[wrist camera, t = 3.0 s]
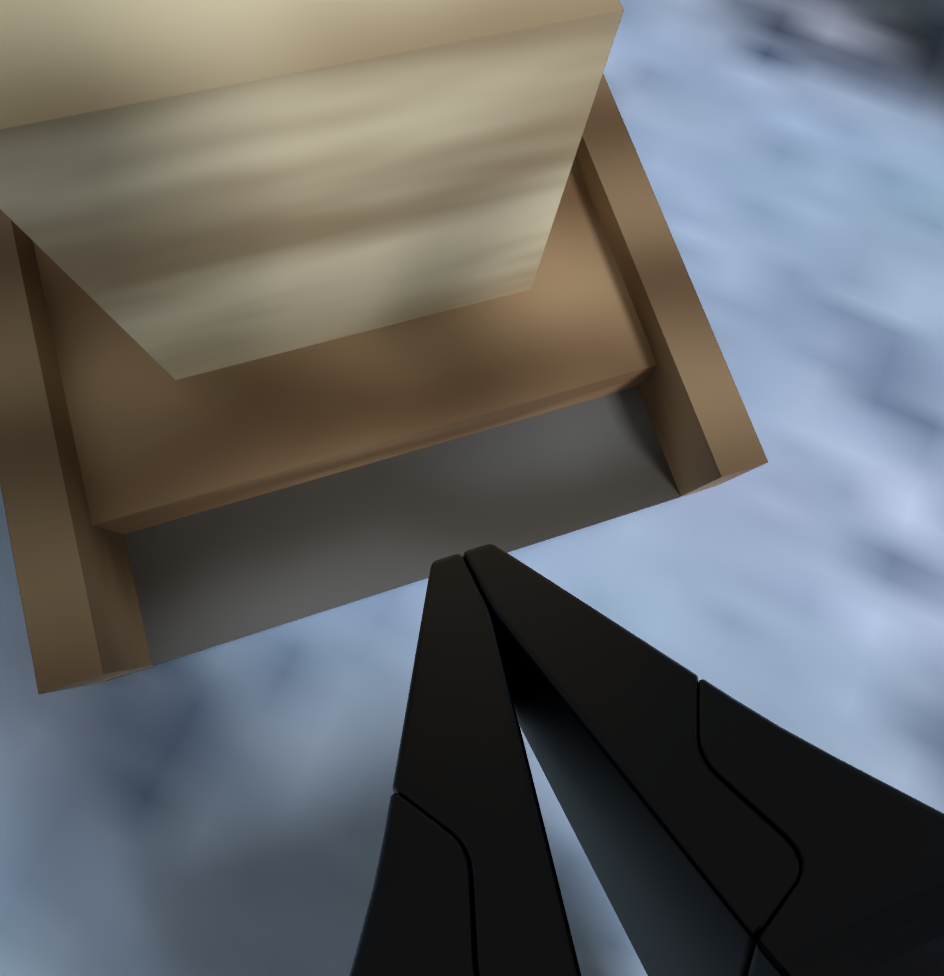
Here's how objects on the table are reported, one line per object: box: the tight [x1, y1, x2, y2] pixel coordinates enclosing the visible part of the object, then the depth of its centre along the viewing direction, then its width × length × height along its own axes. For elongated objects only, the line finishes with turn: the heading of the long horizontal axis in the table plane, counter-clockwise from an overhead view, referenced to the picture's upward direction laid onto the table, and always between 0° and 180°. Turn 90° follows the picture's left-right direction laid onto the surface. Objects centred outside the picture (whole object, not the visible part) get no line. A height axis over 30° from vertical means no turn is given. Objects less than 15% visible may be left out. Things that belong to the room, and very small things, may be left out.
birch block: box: [0, 0, 624, 380], centre depth 15 cm, size 11×11×9 cm
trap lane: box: [0, 74, 768, 694], centre depth 20 cm, size 36×20×4 cm, turn 18°
